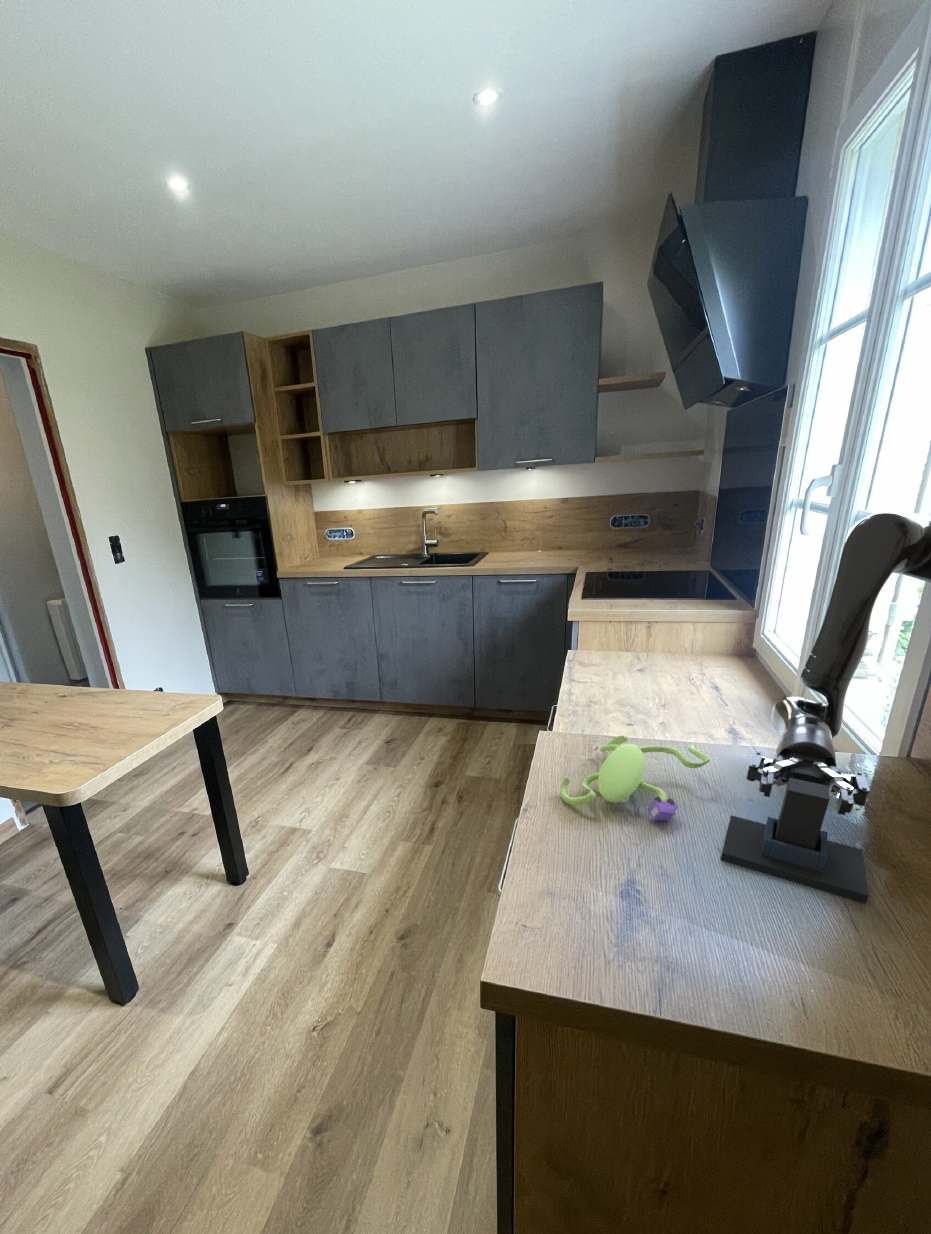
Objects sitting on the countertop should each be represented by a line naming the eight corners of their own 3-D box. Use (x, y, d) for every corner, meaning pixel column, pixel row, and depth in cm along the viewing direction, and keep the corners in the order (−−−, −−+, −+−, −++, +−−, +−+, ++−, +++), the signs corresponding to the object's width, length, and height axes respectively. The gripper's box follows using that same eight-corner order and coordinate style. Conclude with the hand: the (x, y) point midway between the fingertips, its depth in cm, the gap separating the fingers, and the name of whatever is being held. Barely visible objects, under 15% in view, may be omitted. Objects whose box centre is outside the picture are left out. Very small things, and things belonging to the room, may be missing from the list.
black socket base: (860, 856, 77) (867, 834, 75) (865, 903, 68) (874, 879, 67) (729, 821, 85) (734, 801, 84) (720, 859, 77) (725, 837, 76)
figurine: (712, 772, 99) (718, 745, 97) (664, 842, 81) (670, 810, 79) (611, 745, 111) (614, 719, 109) (549, 800, 92) (551, 771, 90)
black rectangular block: (810, 848, 77) (828, 785, 73) (810, 863, 74) (829, 799, 70) (773, 838, 79) (789, 777, 76) (771, 852, 76) (788, 790, 72)
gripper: (758, 722, 90) (750, 762, 78) (868, 742, 83) (879, 790, 70) (749, 763, 93) (739, 808, 81) (855, 785, 86) (862, 838, 73)
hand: (804, 799), depth 76 cm, fingers open, 8 cm apart
